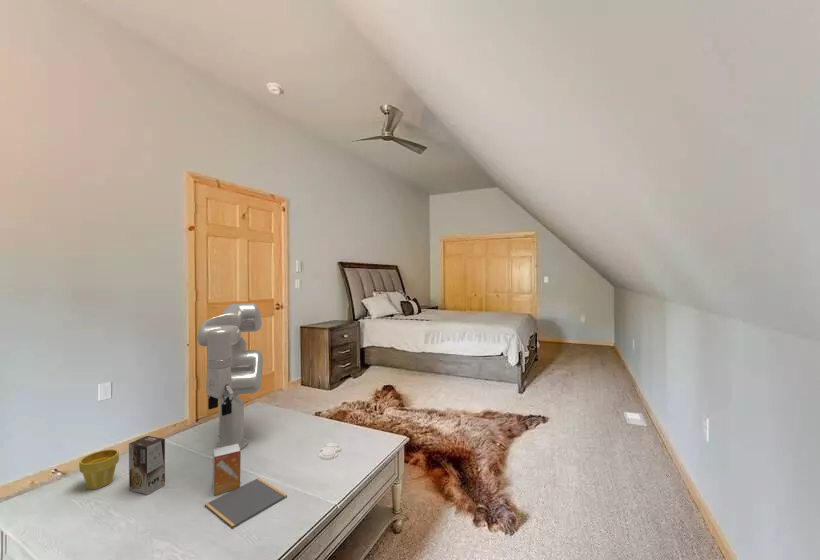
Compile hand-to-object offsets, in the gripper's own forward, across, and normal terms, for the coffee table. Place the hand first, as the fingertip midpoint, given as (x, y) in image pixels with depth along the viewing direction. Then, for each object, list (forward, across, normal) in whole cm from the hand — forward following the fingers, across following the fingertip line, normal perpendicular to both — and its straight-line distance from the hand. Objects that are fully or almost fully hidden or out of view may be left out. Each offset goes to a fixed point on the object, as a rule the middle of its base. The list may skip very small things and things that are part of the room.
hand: (219, 411), depth 124 cm
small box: (+25, +7, -1) cm, 26 cm away
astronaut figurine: (+25, +17, +36) cm, 47 cm away
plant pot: (+25, -31, -26) cm, 48 cm away
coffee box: (+25, -15, -17) cm, 34 cm away
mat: (+24, +20, -1) cm, 31 cm away
